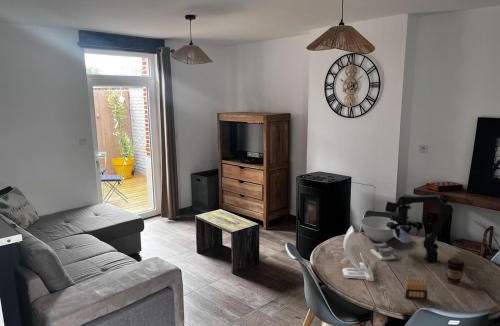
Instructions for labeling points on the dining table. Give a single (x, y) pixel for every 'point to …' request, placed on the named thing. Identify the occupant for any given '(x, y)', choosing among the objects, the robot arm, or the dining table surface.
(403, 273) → the dining table surface
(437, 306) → the dining table surface
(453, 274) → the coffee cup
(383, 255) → the white grey bracket mount
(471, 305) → the dining table surface
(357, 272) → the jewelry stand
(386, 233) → the decorative bowl
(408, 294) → the ammunition clip
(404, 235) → the blue tapered block
